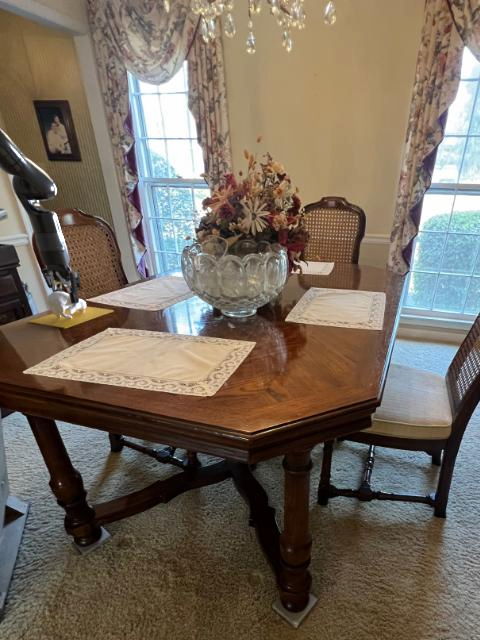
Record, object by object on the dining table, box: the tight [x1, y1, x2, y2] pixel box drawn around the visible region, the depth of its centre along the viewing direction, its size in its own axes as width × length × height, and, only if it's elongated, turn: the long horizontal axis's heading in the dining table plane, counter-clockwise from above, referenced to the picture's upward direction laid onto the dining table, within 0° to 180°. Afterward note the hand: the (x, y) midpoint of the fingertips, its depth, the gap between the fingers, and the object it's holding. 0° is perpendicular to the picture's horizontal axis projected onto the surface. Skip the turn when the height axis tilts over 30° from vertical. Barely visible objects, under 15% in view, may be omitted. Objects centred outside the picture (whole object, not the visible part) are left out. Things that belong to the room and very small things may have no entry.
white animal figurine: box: [46, 291, 87, 319], centre depth 125 cm, size 6×8×12 cm
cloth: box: [27, 305, 115, 329], centre depth 127 cm, size 20×16×1 cm
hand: (68, 302), depth 125 cm, fingers closed on white animal figurine, 5 cm apart
